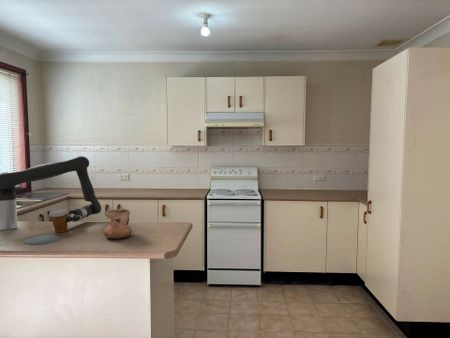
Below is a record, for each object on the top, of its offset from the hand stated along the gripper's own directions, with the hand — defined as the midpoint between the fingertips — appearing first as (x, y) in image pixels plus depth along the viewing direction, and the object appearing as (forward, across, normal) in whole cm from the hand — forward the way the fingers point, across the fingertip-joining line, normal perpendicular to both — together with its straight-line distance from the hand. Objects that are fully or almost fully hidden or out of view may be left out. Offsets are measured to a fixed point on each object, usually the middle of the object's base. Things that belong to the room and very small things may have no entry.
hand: (60, 220), depth 185 cm
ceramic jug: (+4, +38, +7) cm, 39 cm away
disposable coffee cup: (-1, 0, +6) cm, 6 cm away
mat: (+16, +2, +7) cm, 17 cm away
